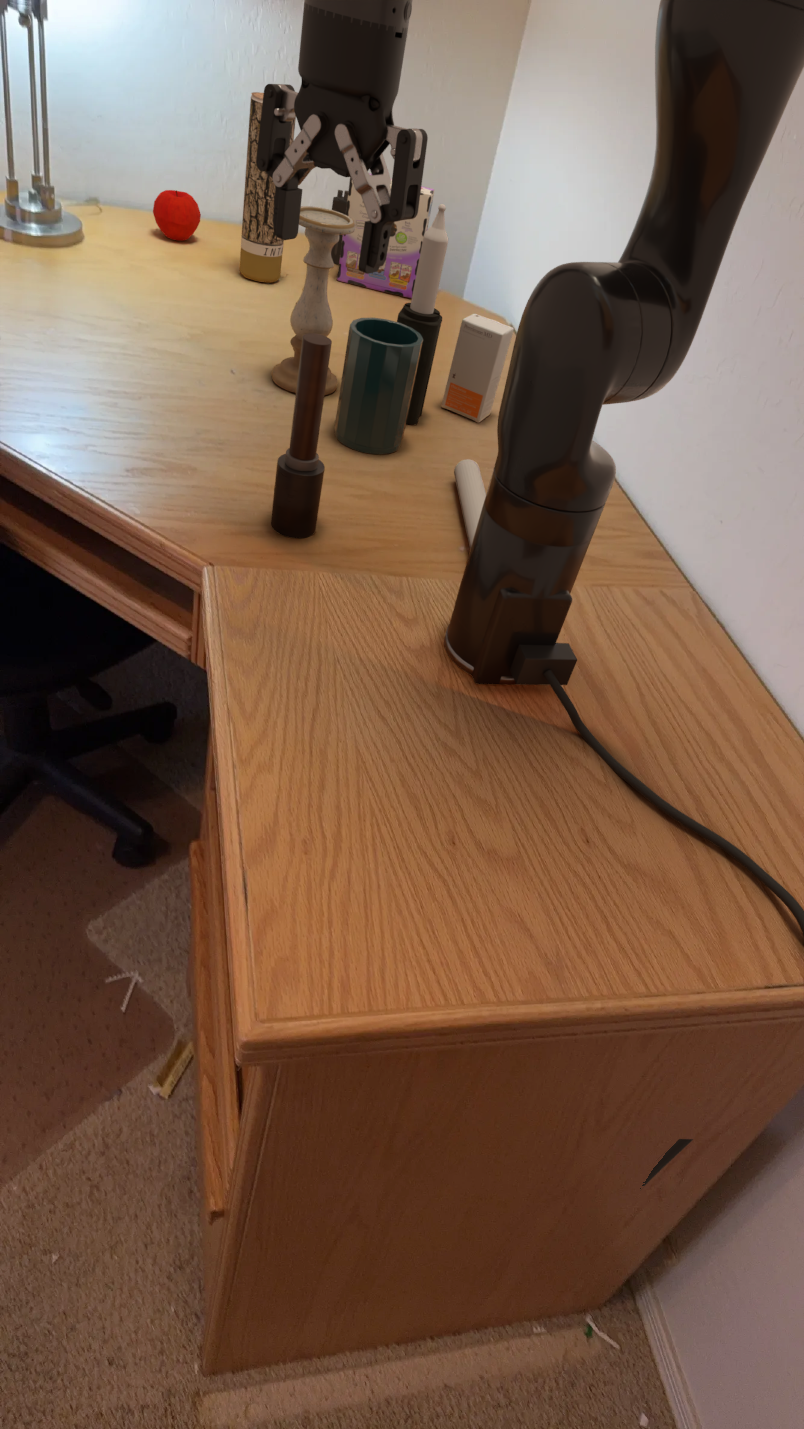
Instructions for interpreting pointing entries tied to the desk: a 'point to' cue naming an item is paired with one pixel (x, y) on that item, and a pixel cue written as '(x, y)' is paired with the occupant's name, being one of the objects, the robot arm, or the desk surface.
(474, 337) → the cosmetic box
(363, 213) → the candy box
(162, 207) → the apple
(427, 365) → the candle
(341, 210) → the walkie-talkie
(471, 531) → the tube
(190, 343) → the desk surface
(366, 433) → the teal pencil cup
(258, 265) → the paper tube
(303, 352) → the brush
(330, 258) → the candle holder
